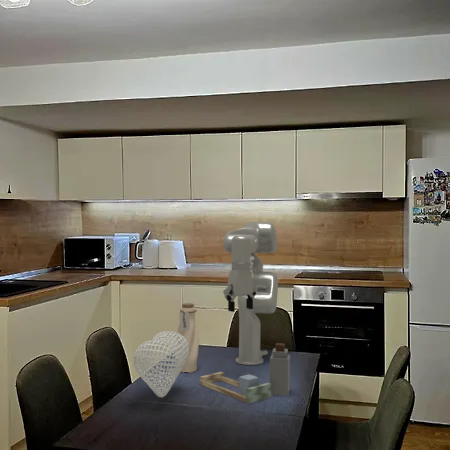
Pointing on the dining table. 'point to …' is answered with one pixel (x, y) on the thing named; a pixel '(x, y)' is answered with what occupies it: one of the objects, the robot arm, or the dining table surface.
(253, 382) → the grey rectangular block
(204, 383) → the track
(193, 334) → the water bottle
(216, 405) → the dining table surface
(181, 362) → the heart
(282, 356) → the perfume bottle
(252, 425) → the dining table surface
